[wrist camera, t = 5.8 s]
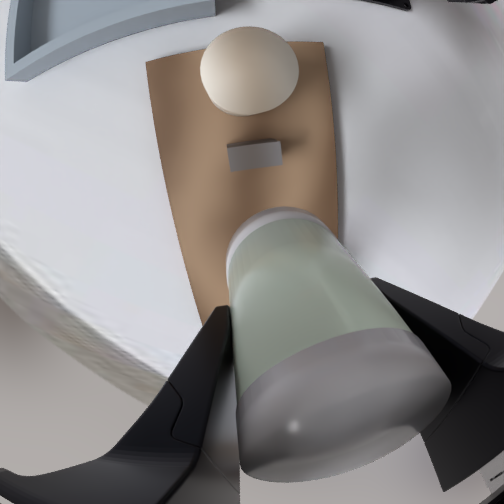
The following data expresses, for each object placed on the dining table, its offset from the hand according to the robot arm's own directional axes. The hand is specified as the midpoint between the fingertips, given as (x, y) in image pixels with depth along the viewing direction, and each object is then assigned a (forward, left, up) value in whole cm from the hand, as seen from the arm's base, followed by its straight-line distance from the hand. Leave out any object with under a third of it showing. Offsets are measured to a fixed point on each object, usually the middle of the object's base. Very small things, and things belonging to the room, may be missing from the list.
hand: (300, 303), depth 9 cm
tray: (+9, -22, -13) cm, 27 cm away
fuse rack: (0, 0, -13) cm, 13 cm away
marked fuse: (0, 0, -3) cm, 3 cm away
